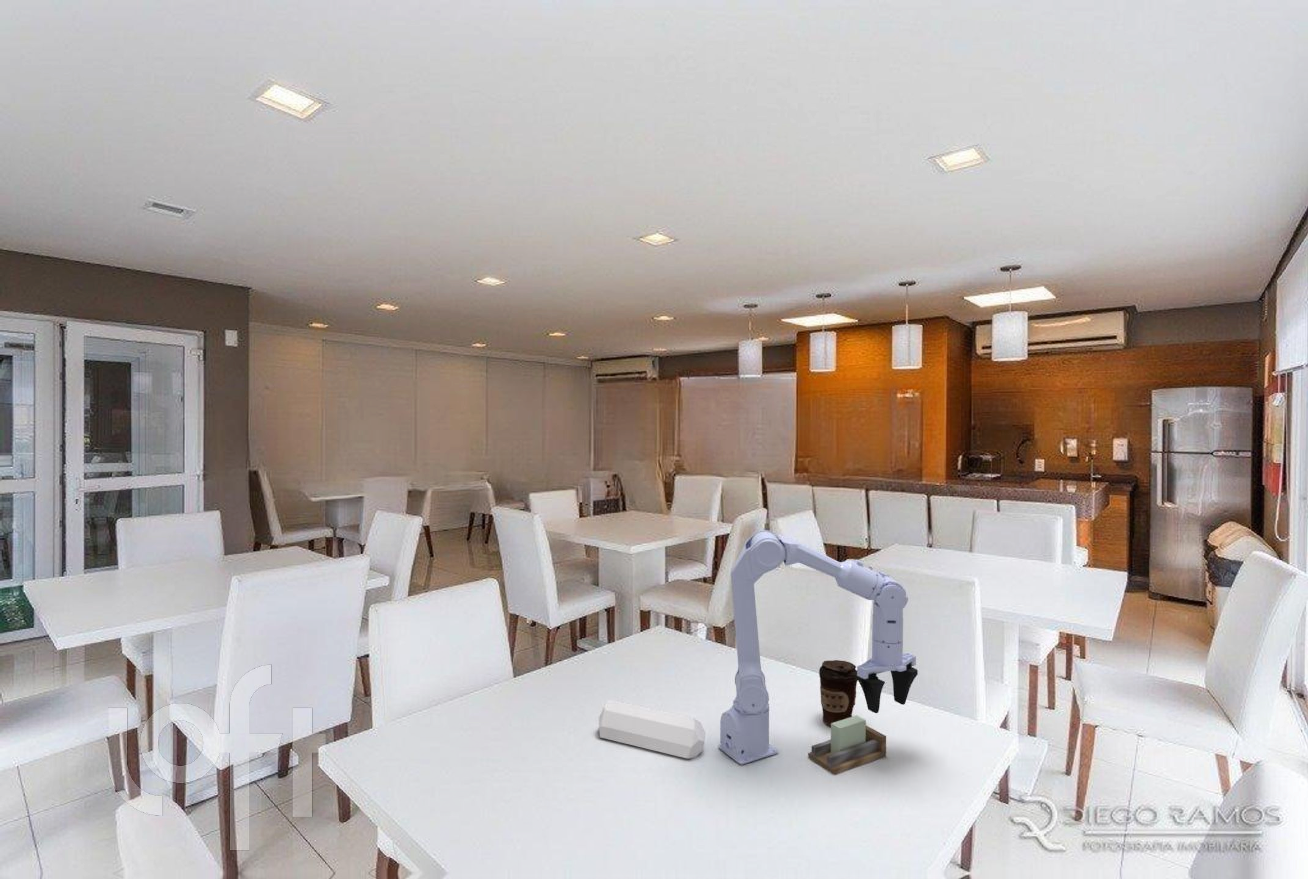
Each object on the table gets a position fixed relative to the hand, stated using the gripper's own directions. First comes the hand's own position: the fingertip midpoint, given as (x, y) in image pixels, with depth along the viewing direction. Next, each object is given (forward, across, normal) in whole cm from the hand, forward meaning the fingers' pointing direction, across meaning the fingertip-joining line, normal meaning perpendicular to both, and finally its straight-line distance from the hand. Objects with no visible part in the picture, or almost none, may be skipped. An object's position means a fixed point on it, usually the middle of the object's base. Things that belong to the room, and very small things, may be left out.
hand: (886, 706), depth 128 cm
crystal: (+10, -38, +28) cm, 48 cm away
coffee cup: (+10, +2, +15) cm, 18 cm away
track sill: (+10, -7, +4) cm, 13 cm away
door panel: (+9, -7, +4) cm, 12 cm away
